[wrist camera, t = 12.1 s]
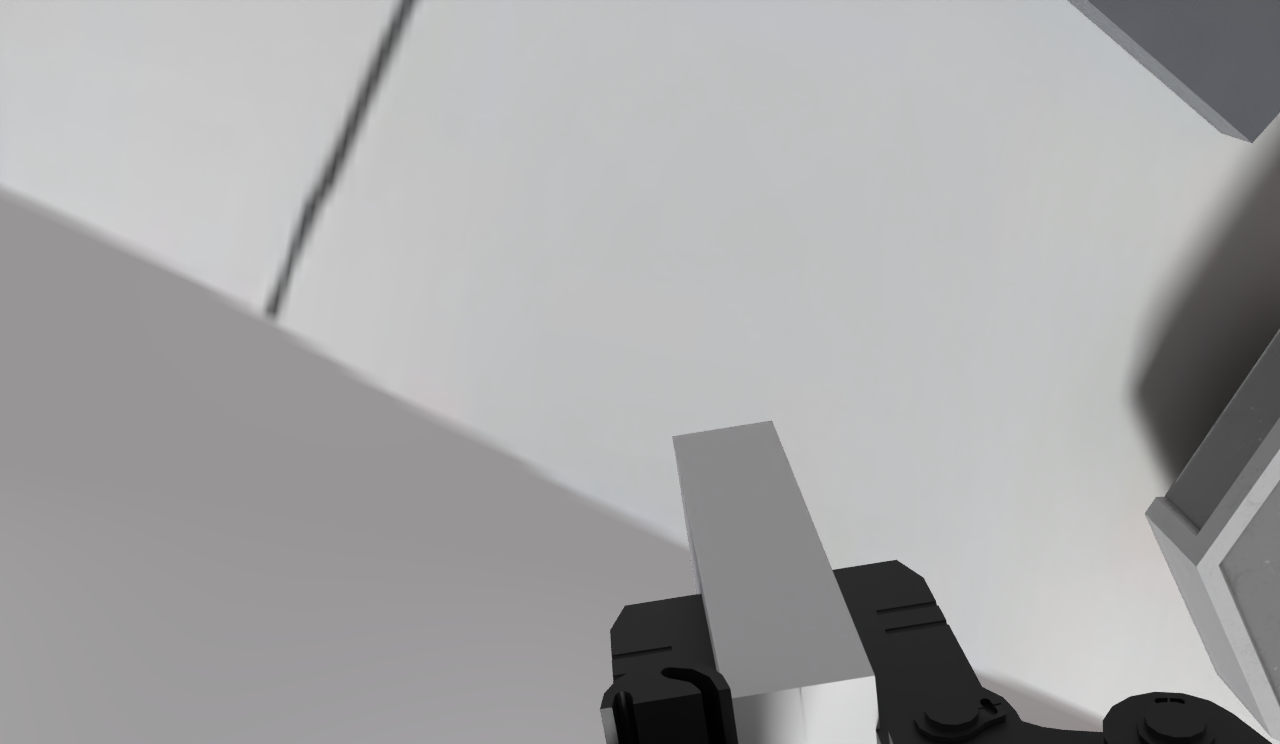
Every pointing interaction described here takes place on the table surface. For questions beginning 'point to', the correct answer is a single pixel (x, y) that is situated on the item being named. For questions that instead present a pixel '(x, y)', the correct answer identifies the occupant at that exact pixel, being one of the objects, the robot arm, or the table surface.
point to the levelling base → (1204, 54)
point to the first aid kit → (1233, 540)
